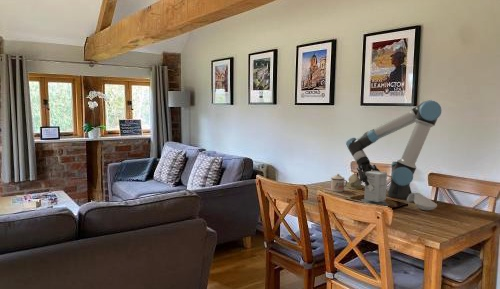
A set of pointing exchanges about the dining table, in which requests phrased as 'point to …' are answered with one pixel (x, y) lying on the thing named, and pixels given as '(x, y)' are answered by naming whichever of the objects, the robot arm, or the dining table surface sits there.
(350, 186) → the ceramic model
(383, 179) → the supplement box
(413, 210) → the dining table surface
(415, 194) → the spoon rest
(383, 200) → the charcoal mat
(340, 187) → the teacup with lid
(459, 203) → the dining table surface
